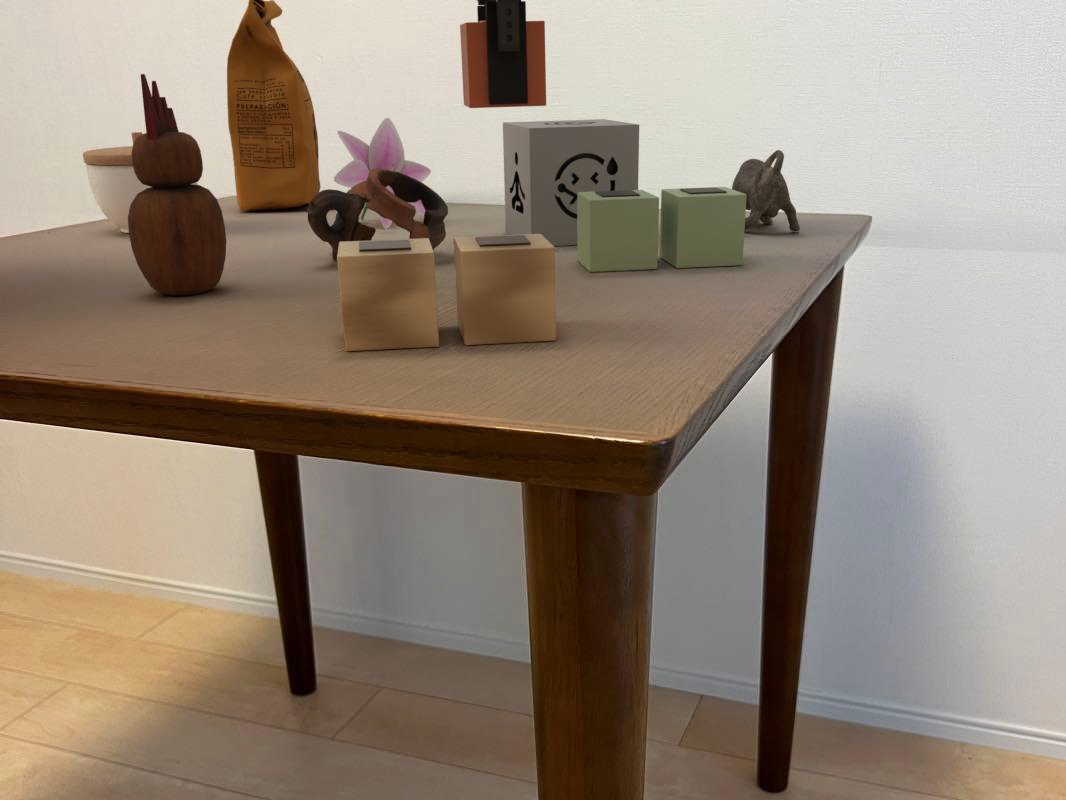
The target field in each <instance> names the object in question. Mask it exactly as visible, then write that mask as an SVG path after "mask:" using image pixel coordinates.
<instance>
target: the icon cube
mask: <svg viewBox="0 0 1066 800" xmlns="http://www.w3.org/2000/svg"><path fill="white" fill-rule="evenodd" d="M502 147H503V150H502V151H503V181H504V186H503V187H504V216H505V217H504V218H505V219H504V221H505V233H507V235H520V234H542V235H543V236H544V237H545V238H546V239H547V240H548V241H549V242H550V243H551V244H552V245H553V246H554V247H562V246H564V247H565V246H577V193H578V192H594V191H623V190H639V169H640V167H639V165H640V164H639V160H640V124H638V123H633V122H626V121H619V120H612V119H607V118H606V119H605V118H600V119H599V118H598V119H597V118H596V119H567V120H566V119H565V120H539V121H538V120H535V121H507V122H506V121H505V122H504V121H503V122H502Z"/></svg>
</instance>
